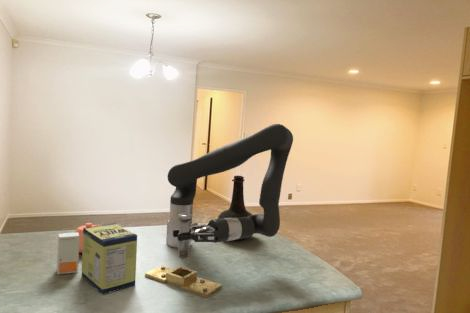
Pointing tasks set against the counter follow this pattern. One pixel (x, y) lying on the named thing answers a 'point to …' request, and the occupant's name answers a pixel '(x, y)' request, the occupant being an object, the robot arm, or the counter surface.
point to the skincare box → (68, 253)
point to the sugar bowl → (80, 231)
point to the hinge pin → (184, 227)
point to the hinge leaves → (184, 280)
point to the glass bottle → (236, 202)
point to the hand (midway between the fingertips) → (175, 235)
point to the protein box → (109, 257)
